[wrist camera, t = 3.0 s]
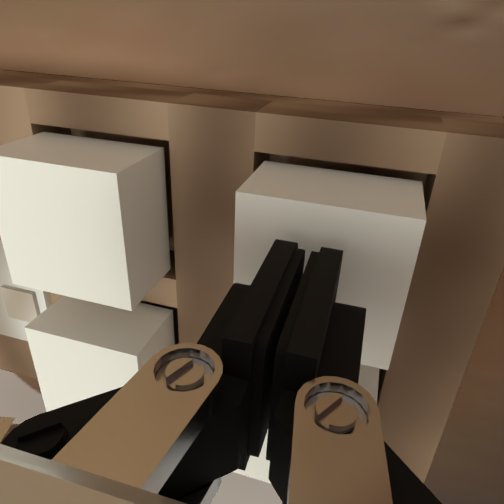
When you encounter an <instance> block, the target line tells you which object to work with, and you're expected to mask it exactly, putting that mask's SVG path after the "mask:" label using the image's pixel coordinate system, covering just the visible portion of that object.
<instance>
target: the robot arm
mask: <svg viewBox="0 0 504 504" xmlns="http://www.w3.org/2000/svg"><path fill="white" fill-rule="evenodd" d="M342 258H343V250H338V249H332V248H326V247H321V249H320V252H315V251H311V254H310V256H309V259H308V262H307V265H306V267H305V270H304V273H303V269H304V260H305V250H304V249H298V243H297V242H291V241H285V240H279V239H276V240H275V241H274V243H273V245H272V247H271V248H270V250H269V252H268V254H267V256H266V258H265V259H264V261H263V263H262V265H261V267H260V269H259V270H258V272H257V274H256V276H255V278H254V280H253V281H252V283H251V285H246V284H240V283H234V284H233V285H232V287H231V288H230V290H229V291H228V293H227V295H226V296H225V298H224V300H223V301H222V303H221V305H220V306H219V308H218V309H217V311H216V313H215V314H214V316H213V318H212V319H211V321H210V323H209V324H208V326H207V327H206V329H205V331H204V332H203V334H202V336H201V337H200V339H199V340H198V342H197V344H196V343H180V344H175V345H170V346H168V347H166V348H164V349H161V350H160V351H159V352H157V353H156V354H155V355H153V356H152V357H151V358H150V359H149V360H148V361H147V362H146V363H145V364H144V365H143V366H142V367H141V368H140V369H139V370H138V372H137V373H136V374H135V375H134V376H133V377H132V378H131V379H130V380H129V381H128V382H127V383H126V384H125V385H124V386H123V387H120V388H117V389H114V390H111V391H108V392H105V393H102V394H99V395H96V396H93V397H90V398H87V399H84V400H81V401H78V402H75V403H72V404H69V405H66V406H63V407H60V408H57V409H54V410H51V411H48V412H45V413H42V414H39V415H37V416H34V417H32V418H30V419H28V420H25V421H24V422H23V423H21V424H17V421H16V418H10V417H0V504H211V502H212V500H213V498H214V497H215V495H216V493H217V491H218V489H219V486H220V484H221V477H222V476H224V475H226V474H228V473H231V472H233V471H235V470H237V469H241V470H244V471H245V469H246V466H247V463H248V460H249V457H250V455H251V456H255V457H259V455H260V452H261V449H262V446H263V443H264V440H265V437H266V434H267V430H268V438H267V449H266V460H269V461H270V466H269V477H268V479H269V481H270V482H271V484H272V485H273V487H274V489H275V490H276V492H277V494H278V495H279V497H280V499H281V500H282V502H283V503H282V504H442V503H441V502H440V501H439V500H438V499H437V498H436V497H435V496H434V495H433V494H432V492H431V491H430V490H429V489H428V488H427V487H426V486H425V485H424V484H423V483H422V482H421V480H420V479H419V478H418V477H417V476H416V475H415V474H414V473H413V472H412V471H411V470H410V468H409V467H408V466H407V465H406V464H405V463H404V462H403V461H402V460H401V459H400V458H399V456H398V455H397V454H396V453H395V452H394V451H393V450H392V449H391V448H390V447H389V446H388V445H387V443H386V442H385V441H384V439H383V432H382V425H381V418H380V412H379V409H378V406H377V403H376V401H375V400H374V398H373V397H372V396H371V394H370V393H369V392H368V391H367V390H365V389H364V388H363V387H362V386H360V385H359V384H358V382H359V372H360V363H361V354H362V345H363V336H364V327H365V318H366V308H363V307H358V306H352V305H347V304H342V303H337V302H335V301H336V295H337V289H338V283H339V277H340V270H341V264H342Z"/></svg>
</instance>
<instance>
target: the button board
mask: <svg viewBox="0 0 504 504" xmlns="http://www.w3.org/2000/svg"><path fill="white" fill-rule="evenodd" d="M41 132H50V133H57V134H65V135H73V136H80V137H88V138H96V139H103V140H111V141H118V142H126V143H134V144H141V145H149V146H157V147H164V160H165V178H166V196H167V214H168V232H169V250H170V268H171V269H170V270H169V271H168V272H167V273H166V274H165V276H164V277H163V278H162V279H161V280H160V281H159V282H158V283H157V284H156V285H155V286H154V288H153V289H152V290H151V291H150V292H149V293H148V294H147V295H146V296H145V297H144V298H143V300H142V301H141V302H140V303H144V304H148V305H153V306H157V307H161V308H166V309H170V310H173V322H174V340H175V344H180V343H196V344H197V342H198V340H199V339H200V337H201V336H202V334H203V332H204V331H205V329H206V327H207V326H208V324H209V323H210V321H211V319H212V318H213V316H214V314H215V313H216V311H217V309H218V308H219V306H220V305H221V303H222V301H223V300H224V298H225V296H226V295H227V293H228V291H229V290H230V288H231V287H232V285H233V274H234V234H235V194H236V191H237V189H238V188H239V187H240V186H241V185H242V184H243V183H244V182H245V181H246V180H247V179H248V178H249V177H250V176H251V175H252V174H253V173H254V172H255V171H256V169H257V168H258V167H259V166H260V165H261V164H262V163H263V162H264V161H271V162H279V163H286V164H294V165H302V166H309V167H317V168H324V169H332V170H340V171H347V172H355V173H363V174H370V175H378V176H386V177H393V178H401V179H408V180H416V181H422V185H423V193H424V202H425V210H426V219H427V221H426V225H425V229H424V232H423V236H422V240H421V244H420V248H419V252H418V256H417V260H416V264H415V268H414V272H413V275H412V279H411V283H410V287H409V291H408V295H407V299H406V303H405V307H404V311H403V314H402V318H401V322H400V326H399V330H398V334H397V338H396V342H395V346H394V350H393V353H392V357H391V361H390V365H389V369H388V370H384V369H380V368H379V381H378V396H377V406H378V409H379V412H380V418H381V425H382V432H383V439H384V441H385V442H386V443H387V445H388V446H389V447H390V448H391V449H392V450H393V451H394V452H395V453H396V454H397V455H398V456H399V458H400V459H401V460H402V461H403V462H404V463H405V464H406V465H407V466H408V467H409V468H410V470H411V471H412V472H413V473H414V474H415V475H416V476H417V477H418V478H419V479H420V480H421V482H422V483H423V484H424V482H425V479H426V476H427V473H428V471H429V468H430V465H431V463H432V460H433V457H434V455H435V452H436V449H437V446H438V444H439V441H440V438H441V436H442V433H443V430H444V428H445V425H446V422H447V419H448V417H449V414H450V411H451V409H452V406H453V403H454V401H455V398H456V395H457V392H458V390H459V387H460V384H461V382H462V379H463V376H464V374H465V371H466V368H467V365H468V363H469V360H470V357H471V355H472V352H473V349H474V347H475V344H476V341H477V338H478V336H479V333H480V330H481V328H482V325H483V322H484V320H485V317H486V314H487V311H488V309H489V306H490V303H491V301H492V298H493V295H494V293H495V290H496V287H497V284H498V282H499V279H500V276H501V274H502V271H503V268H504V117H495V116H485V115H474V114H464V113H453V112H442V111H432V110H421V109H411V108H400V107H390V106H379V105H369V104H358V103H347V102H337V101H326V100H316V99H305V98H295V97H284V96H274V95H263V94H252V93H242V92H231V91H221V90H210V89H200V88H189V87H179V86H168V85H157V84H147V83H136V82H126V81H115V80H105V79H94V78H84V77H73V76H62V75H52V74H41V73H31V72H20V71H10V70H0V146H1V145H4V144H7V143H10V142H13V141H17V140H20V139H23V138H26V137H29V136H32V135H35V134H38V133H41ZM62 296H63V295H59V294H55V293H51V292H46V291H42V290H38V289H33V288H29V287H25V286H20V285H16V284H13V283H12V279H11V275H10V271H9V267H8V263H7V260H6V256H5V252H4V248H3V244H2V241H1V237H0V369H2V370H6V371H9V372H13V373H16V374H20V375H23V376H27V377H30V378H34V379H37V380H38V378H37V374H36V370H35V366H34V362H33V359H32V355H31V351H30V347H29V343H28V340H27V336H26V332H25V328H24V327H25V326H27V325H28V324H29V323H30V322H31V321H33V320H34V319H35V318H36V317H37V316H39V315H40V314H41V313H42V312H44V311H45V310H46V309H47V308H48V307H50V306H51V305H52V304H53V303H54V302H56V301H57V300H58V299H59V298H61V297H62Z"/></svg>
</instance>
